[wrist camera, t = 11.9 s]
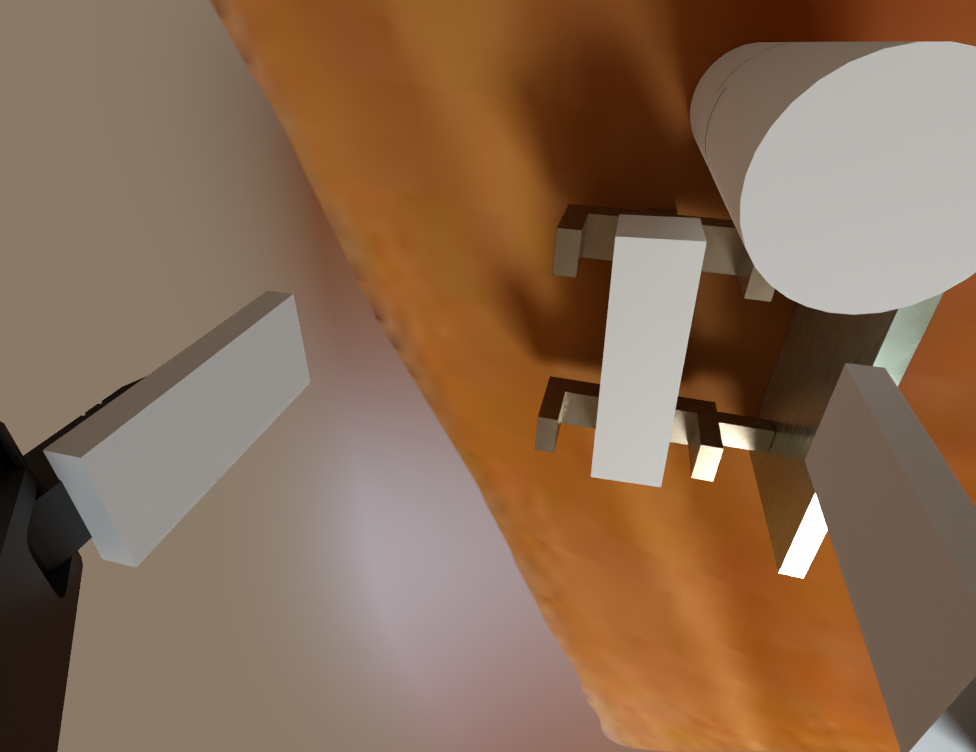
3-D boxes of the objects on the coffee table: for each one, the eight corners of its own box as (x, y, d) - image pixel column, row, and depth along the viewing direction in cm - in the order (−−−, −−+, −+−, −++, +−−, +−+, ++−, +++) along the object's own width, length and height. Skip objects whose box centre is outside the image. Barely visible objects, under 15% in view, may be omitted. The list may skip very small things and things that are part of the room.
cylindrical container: (671, 144, 38) (695, 266, 17) (722, 25, 34) (833, 0, 14) (771, 179, 38) (920, 347, 17) (835, 63, 34) (1130, 96, 13)
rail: (619, 214, 37) (615, 236, 32) (699, 218, 35) (706, 241, 31) (596, 437, 46) (590, 476, 42) (659, 445, 45) (660, 487, 40)
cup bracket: (577, 158, 40) (548, 206, 28) (865, 182, 37) (965, 247, 25) (549, 411, 52) (519, 519, 40) (766, 447, 48) (803, 578, 36)
